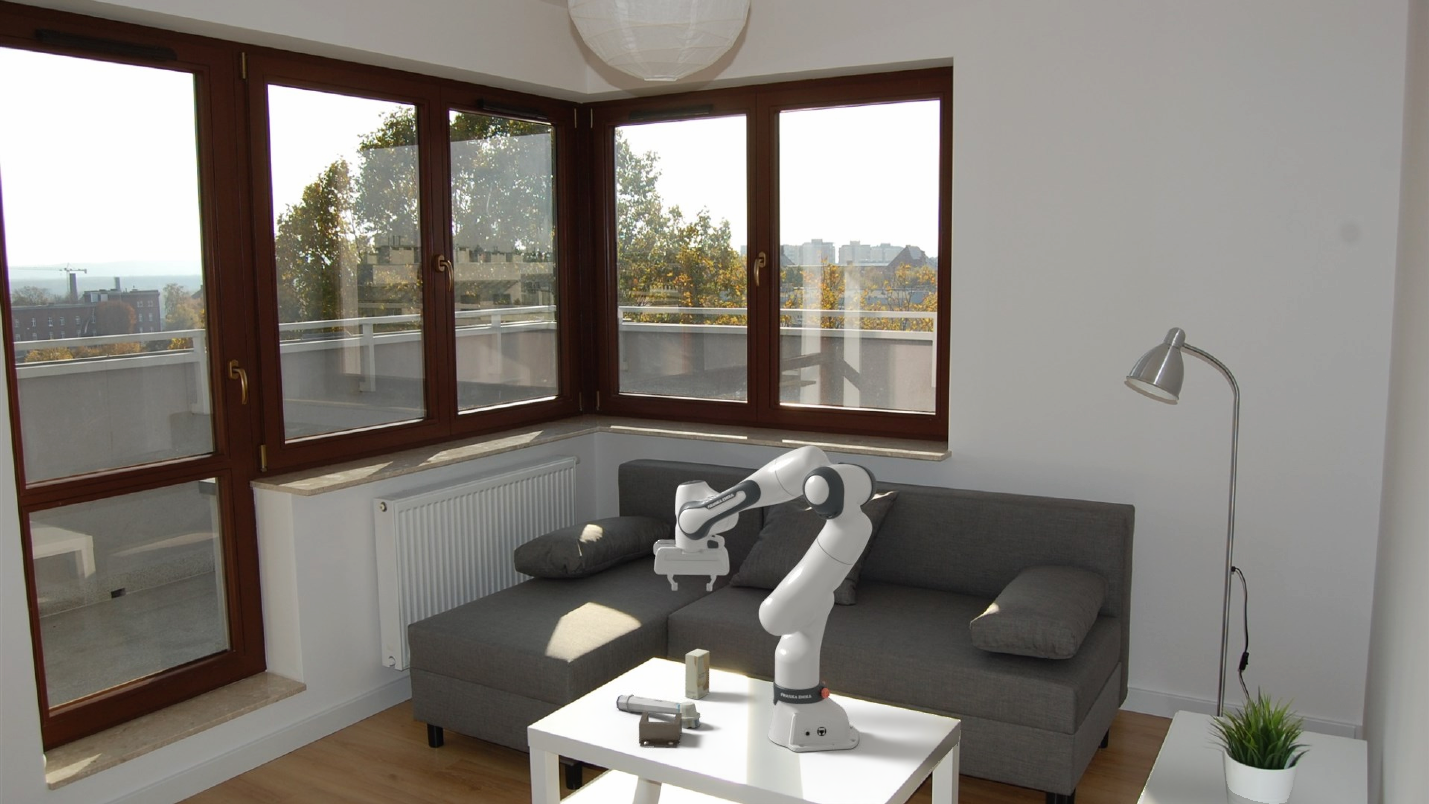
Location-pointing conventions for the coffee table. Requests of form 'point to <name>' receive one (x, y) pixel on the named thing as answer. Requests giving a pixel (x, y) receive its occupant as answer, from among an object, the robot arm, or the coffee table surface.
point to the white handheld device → (660, 708)
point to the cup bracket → (660, 732)
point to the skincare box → (697, 674)
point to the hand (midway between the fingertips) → (691, 590)
